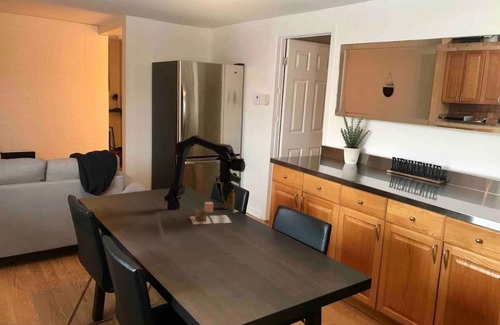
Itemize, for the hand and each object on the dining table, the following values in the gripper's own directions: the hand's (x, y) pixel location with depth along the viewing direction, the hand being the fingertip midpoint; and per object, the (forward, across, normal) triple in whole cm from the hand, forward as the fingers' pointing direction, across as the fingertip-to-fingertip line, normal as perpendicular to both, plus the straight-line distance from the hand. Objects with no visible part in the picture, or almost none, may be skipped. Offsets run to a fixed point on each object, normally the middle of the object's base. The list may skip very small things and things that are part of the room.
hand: (223, 198), depth 206 cm
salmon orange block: (+12, +13, +4) cm, 18 cm away
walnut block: (+11, -1, +12) cm, 16 cm away
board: (+12, -1, +6) cm, 14 cm away
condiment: (+12, +17, -8) cm, 23 cm away
